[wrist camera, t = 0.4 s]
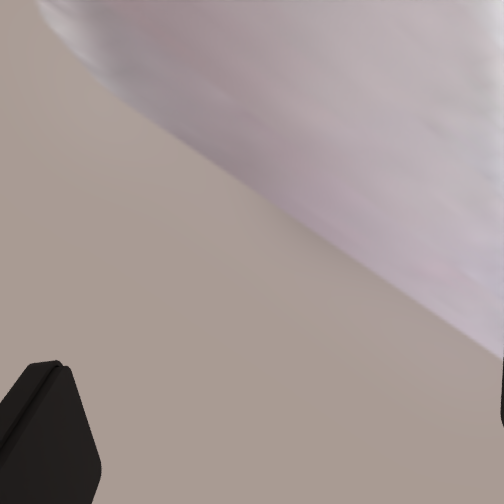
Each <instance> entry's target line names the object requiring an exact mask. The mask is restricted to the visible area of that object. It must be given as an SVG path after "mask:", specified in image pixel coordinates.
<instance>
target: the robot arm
mask: <svg viewBox="0 0 504 504" xmlns="http://www.w3.org/2000/svg"><path fill="white" fill-rule="evenodd" d="M501 420H502V424H503V426H504V359H503V378H502V395H501ZM100 477H101V461H100V458H99V455H98V451H97V449H96V445H95V442H94V439H93V436H92V433H91V430H90V427H89V424H88V421H87V418H86V415H85V411H84V408H83V405H82V402H81V399H80V396H79V393H78V390H77V387H76V384H75V380H74V378H73V374H72V371H71V369H70V368H69V367H68V366H63V365H62V364H61V362H60V361H57V360H55V361H48V362H40V363H32V364H30V365H28V366H27V368H26V369H25V370H24V372H23V373H22V374H21V376H20V377H19V378H18V380H17V381H16V383H15V384H14V385H13V387H12V388H11V389H10V391H9V392H8V393H7V395H6V396H5V397H4V399H3V400H2V401H1V403H0V504H92V501H93V498H94V495H95V493H96V490H97V487H98V484H99V481H100Z"/></svg>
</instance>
